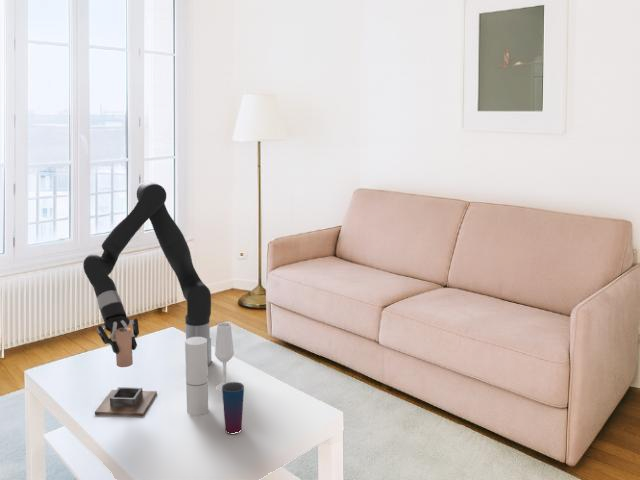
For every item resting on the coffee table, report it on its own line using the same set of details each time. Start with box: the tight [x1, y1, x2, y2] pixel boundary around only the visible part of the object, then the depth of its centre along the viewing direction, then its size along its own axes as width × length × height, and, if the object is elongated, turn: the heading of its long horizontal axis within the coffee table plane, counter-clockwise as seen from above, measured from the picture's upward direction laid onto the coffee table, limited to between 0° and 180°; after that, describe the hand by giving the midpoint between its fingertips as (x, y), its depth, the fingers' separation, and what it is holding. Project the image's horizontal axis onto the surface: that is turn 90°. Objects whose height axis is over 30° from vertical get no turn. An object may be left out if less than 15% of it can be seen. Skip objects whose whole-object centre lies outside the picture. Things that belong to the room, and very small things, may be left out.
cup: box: [221, 381, 245, 433], centre depth 199 cm, size 7×7×15 cm
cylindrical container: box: [184, 337, 210, 417], centre depth 209 cm, size 7×7×25 cm
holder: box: [94, 386, 158, 417], centre depth 215 cm, size 16×16×4 cm
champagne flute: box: [214, 322, 235, 391], centre depth 227 cm, size 7×7×24 cm
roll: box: [115, 327, 134, 368], centre depth 211 cm, size 5×5×12 cm
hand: (126, 350), depth 210 cm, fingers closed on roll, 5 cm apart
